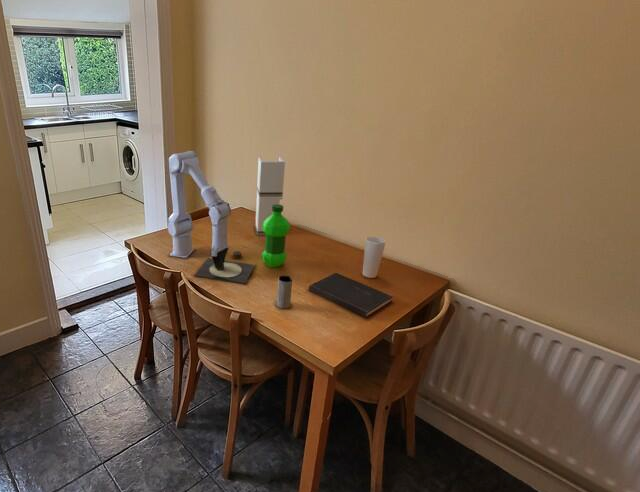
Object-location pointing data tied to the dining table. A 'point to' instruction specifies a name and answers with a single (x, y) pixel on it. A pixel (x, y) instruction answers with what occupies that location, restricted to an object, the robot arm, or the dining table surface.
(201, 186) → the robot arm
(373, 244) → the drinking glass
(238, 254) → the eye right
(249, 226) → the dining table surface
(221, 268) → the eye left
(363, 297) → the hardcover book
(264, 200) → the white rectangular tower
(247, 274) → the board
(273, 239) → the plastic bottle
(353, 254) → the dining table surface
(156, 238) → the dining table surface
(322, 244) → the dining table surface
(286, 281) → the grey metal cylinder
